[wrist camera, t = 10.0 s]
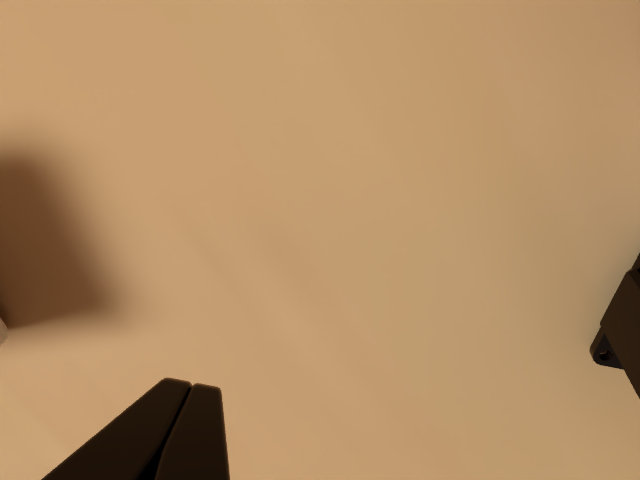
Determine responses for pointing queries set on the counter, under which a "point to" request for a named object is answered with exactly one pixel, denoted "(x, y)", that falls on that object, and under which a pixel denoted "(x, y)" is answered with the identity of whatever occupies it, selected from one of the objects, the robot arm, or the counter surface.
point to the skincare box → (3, 332)
